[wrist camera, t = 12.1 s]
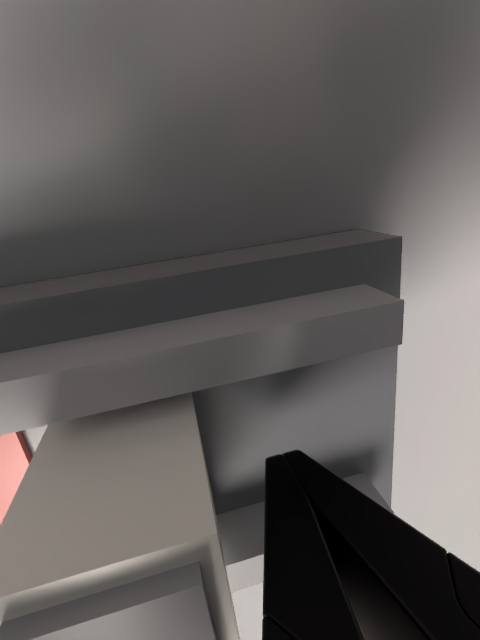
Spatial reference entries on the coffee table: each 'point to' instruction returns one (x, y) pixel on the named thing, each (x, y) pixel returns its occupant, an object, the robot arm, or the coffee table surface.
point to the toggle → (116, 533)
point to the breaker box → (220, 364)
